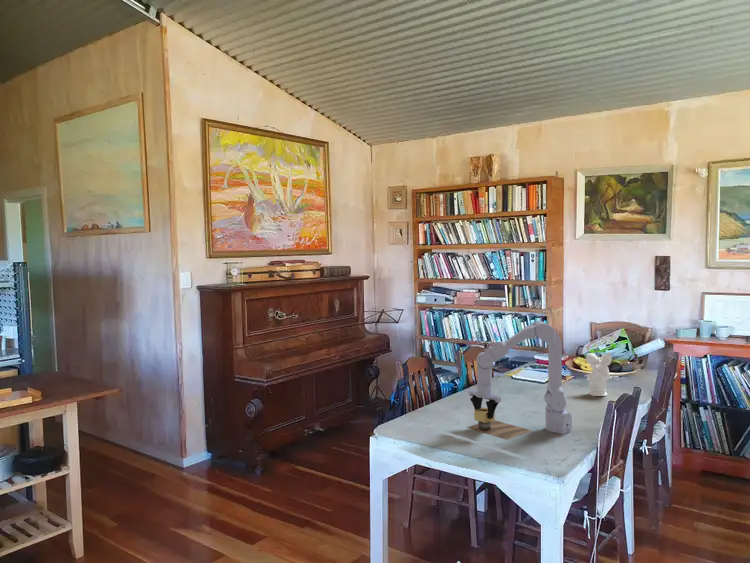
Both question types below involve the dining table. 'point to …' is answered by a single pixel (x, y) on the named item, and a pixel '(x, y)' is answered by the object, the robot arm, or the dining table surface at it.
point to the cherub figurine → (598, 373)
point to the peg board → (499, 429)
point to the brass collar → (482, 415)
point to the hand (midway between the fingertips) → (484, 416)
